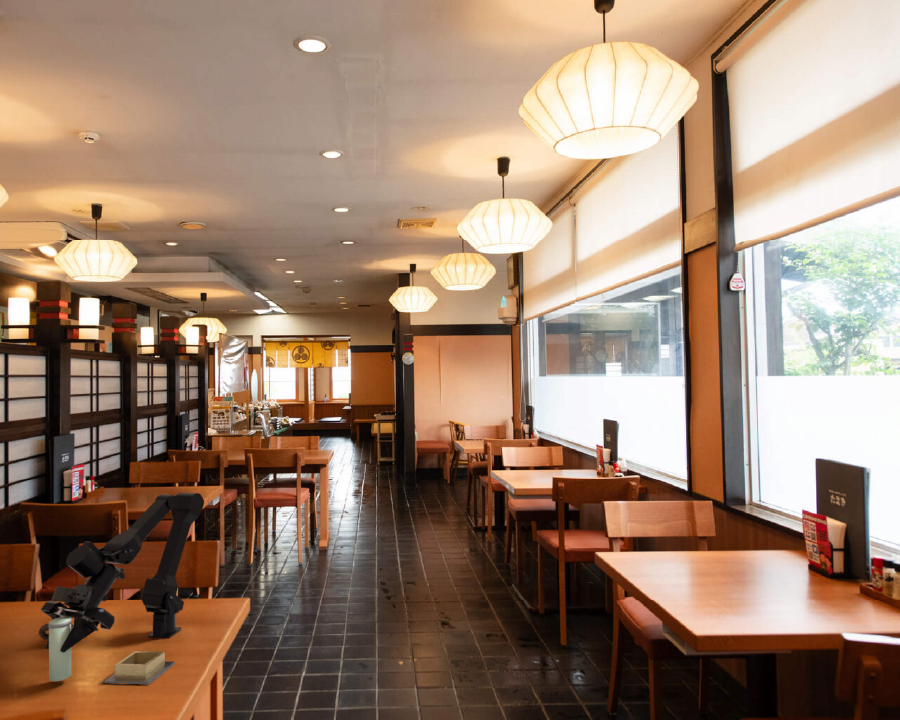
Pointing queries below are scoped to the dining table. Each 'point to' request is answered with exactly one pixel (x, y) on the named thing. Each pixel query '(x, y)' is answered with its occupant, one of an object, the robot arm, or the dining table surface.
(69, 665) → the pale green cylinder
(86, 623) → the robot arm
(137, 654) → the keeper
